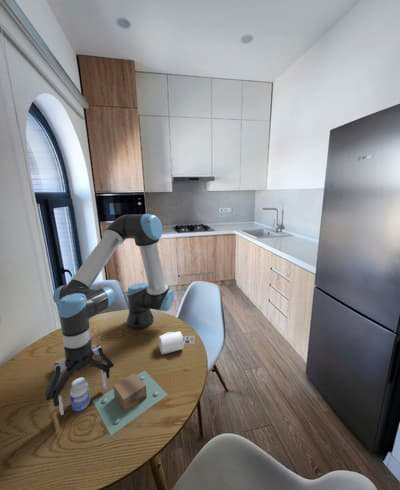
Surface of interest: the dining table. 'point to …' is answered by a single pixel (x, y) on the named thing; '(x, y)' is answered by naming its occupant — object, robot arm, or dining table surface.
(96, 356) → the brick
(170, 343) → the mug
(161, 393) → the build board
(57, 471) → the dining table surface
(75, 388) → the pill bottle
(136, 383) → the walnut block
